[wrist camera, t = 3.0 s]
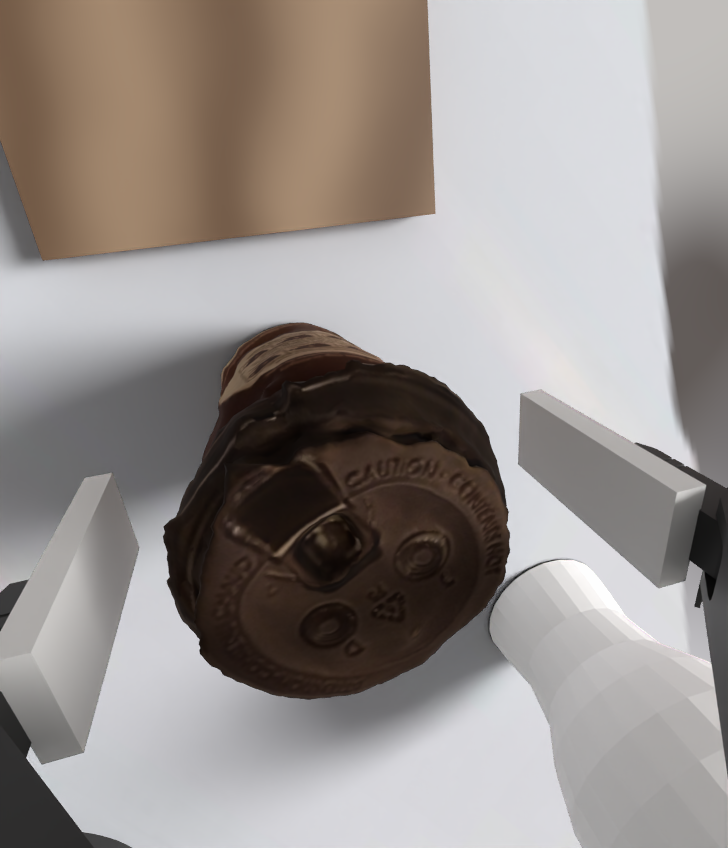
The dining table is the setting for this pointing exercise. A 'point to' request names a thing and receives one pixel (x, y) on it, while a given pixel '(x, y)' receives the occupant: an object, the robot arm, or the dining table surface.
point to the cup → (617, 713)
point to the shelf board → (213, 118)
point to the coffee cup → (334, 519)
